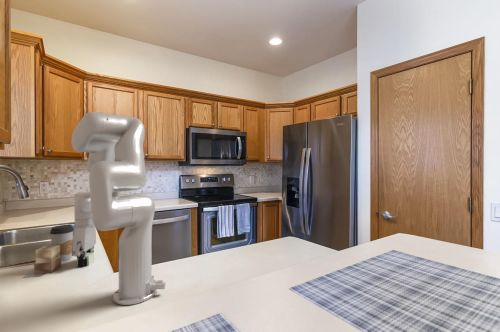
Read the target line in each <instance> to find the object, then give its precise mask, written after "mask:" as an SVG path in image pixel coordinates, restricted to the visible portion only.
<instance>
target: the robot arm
mask: <svg viewBox="0 0 500 332" xmlns="http://www.w3.org/2000/svg"><path fill="white" fill-rule="evenodd" d="M144 142H145V125H144V123H143V121H141V120H140V119H139V118H137V117H133V116H129V115H128V116H126V115H121V114H114V113H108V112H101V111H88V112H86V113H85V114H84V115H83V117H81V119H80V120H79V122H78V124H77V125H76V127H75V128H74V130H73V132H72V136H71V147H72V149H73V150H74V151H75V152H76V153H77V152H78V153H88V157H87V158H88V159H87V163H86V171H87V173H89V178H88V182H89V183H88V184H89V191H80V192H77V193H75V194H74V199H73V200H74V201H73V203H74V228H73V230H74V231H73V246H72V253H74V256H75V257H76V261H77V260H78V267H77V268H85V267H88V266H87V258H86V253H95V252H94V249H95V246H96V244H97V233H96V230H98V231H102V232H103V231H104V232H107V231H113V230H118V229H122V228H124V229H123V230H122V231H121V233H120V236H119V238H118V289H117V290H115V291H114V292H113V295H112V301H113V302H114V303H115V304H118V305H122V306H128V305H129V306H131V305H137V304H141V303H143V301H144V302H146V301H149V300H150V299H152V298H153V297H154V296H155V295H156V294H157V291H158V290H165V289H166V282H165V281H164V280H163V279H159V280H156V279H155V275H152V273H153V271H152V268H153V267H152V265H153V264H152V260H153V259H152V258H153V257H152V242H153V241H152V240H153V239H152V237H153V236H152V235H153V234H152V231H153V221H154V217H155V213H156V212H155V211H156V210H155V209H156V205H155V202H154V200H153V199H152V197H151V196H149V195H146V194H139V193H138V194H128V195H127V194H125V195H120V193H121V192H130V191H131V192H132V191H137V190H141V189H143V188H144V187H145V186H146V183H147V173H146V172H147V171H146V162H145V154H144ZM82 253H84V254H82ZM140 302H141V303H140Z"/></svg>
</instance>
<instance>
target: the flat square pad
mask: <svg viewBox="0 0 500 332" xmlns="http://www.w3.org/2000/svg"><path fill="white" fill-rule="evenodd" d="M66 266H67V264H61V268H64V267H66ZM61 268H60V269H61ZM45 275H46V274H34V270H33V271H31V272H30V273H28V274H26V275H24V276H22V277H21V279H29V278H41V277H43V276H45Z"/></svg>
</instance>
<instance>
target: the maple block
mask: <svg viewBox="0 0 500 332" xmlns="http://www.w3.org/2000/svg"><path fill="white" fill-rule="evenodd" d="M59 258H60V245H52V244H51V245H43V246H42V247H40V248H37V249H35V263H36V264H37V263H52V262H54V261H55V260H57V259H59Z"/></svg>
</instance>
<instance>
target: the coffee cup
mask: <svg viewBox="0 0 500 332" xmlns="http://www.w3.org/2000/svg"><path fill="white" fill-rule="evenodd" d="M49 234H50V241H51V246H52V245H60V257H61V263H62V262H67V261H70V260H72V257H73V235H74V227H73V225H72V224H60V225H56V226H52V227H51V230H50V233H49Z"/></svg>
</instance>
